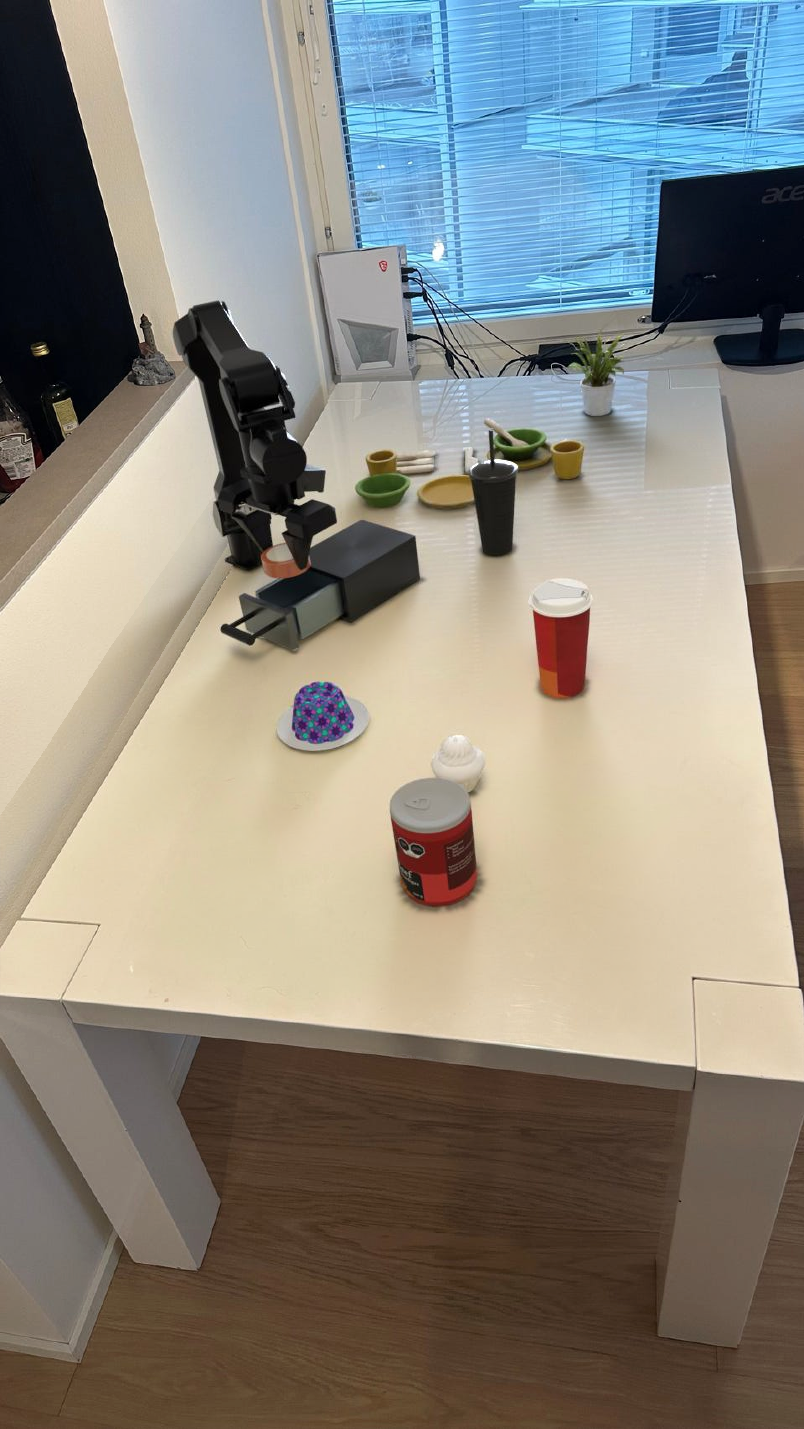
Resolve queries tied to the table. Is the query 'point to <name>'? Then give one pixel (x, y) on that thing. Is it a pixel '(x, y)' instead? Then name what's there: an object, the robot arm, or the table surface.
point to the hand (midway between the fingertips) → (286, 562)
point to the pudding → (322, 718)
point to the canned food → (434, 840)
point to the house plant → (598, 377)
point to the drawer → (288, 609)
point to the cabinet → (367, 565)
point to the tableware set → (457, 489)
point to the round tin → (280, 562)
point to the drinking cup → (494, 502)
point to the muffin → (459, 762)
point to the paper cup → (561, 635)
